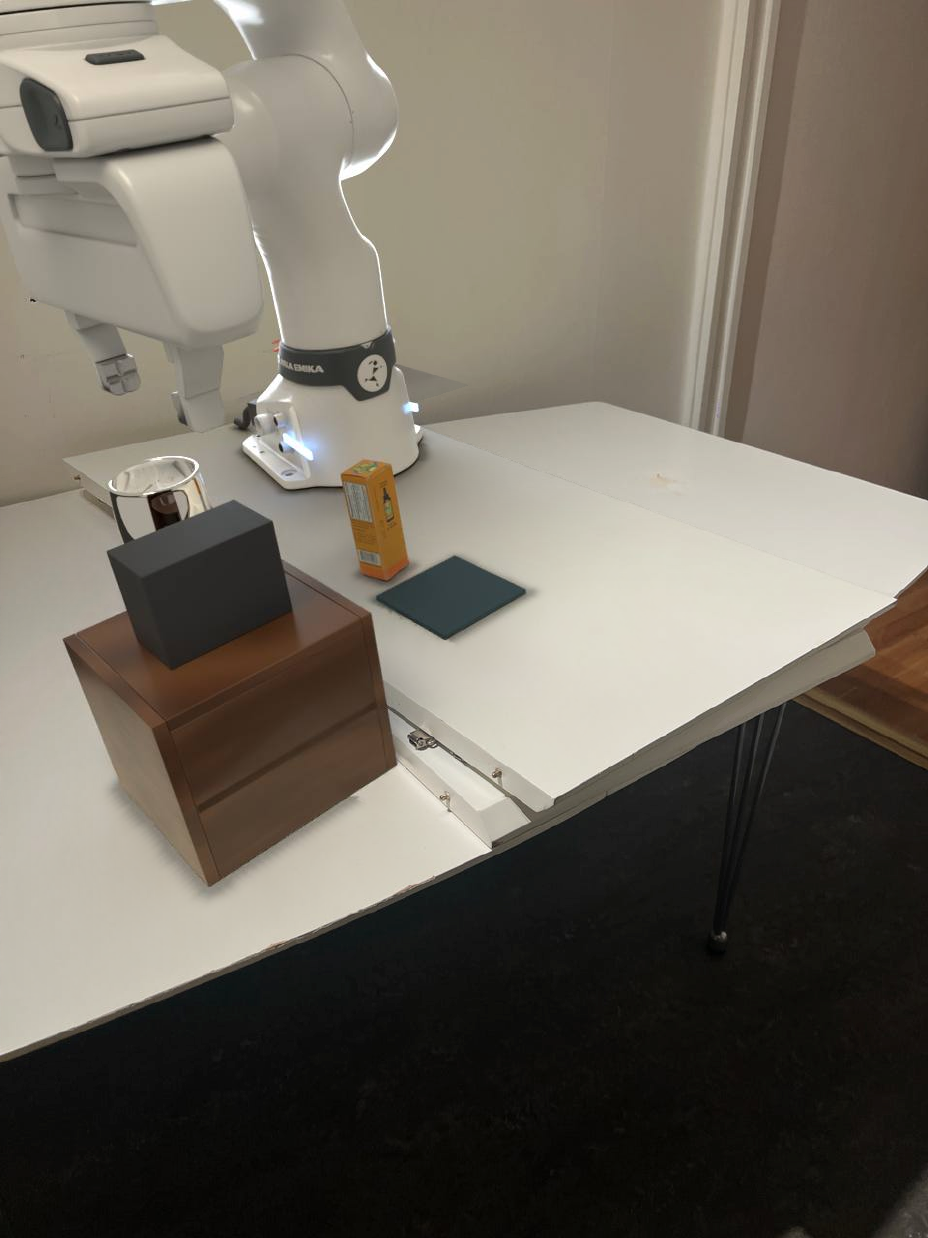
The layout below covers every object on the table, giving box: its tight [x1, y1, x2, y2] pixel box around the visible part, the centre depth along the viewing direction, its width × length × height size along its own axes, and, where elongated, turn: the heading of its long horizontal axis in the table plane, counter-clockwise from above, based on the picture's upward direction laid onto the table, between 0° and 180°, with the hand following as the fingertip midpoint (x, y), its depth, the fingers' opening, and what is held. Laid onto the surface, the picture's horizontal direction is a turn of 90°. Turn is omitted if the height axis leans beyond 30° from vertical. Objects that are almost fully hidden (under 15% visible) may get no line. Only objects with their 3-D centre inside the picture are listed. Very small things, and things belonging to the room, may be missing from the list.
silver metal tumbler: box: [106, 455, 214, 545], centre depth 70 cm, size 7×7×15 cm
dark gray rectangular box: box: [106, 499, 293, 670], centre depth 52 cm, size 4×8×6 cm, turn 132°
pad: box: [375, 555, 527, 640], centre depth 76 cm, size 9×9×1 cm
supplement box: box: [340, 459, 409, 581], centre depth 78 cm, size 3×3×10 cm
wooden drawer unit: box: [62, 558, 398, 887], centre depth 57 cm, size 12×14×12 cm
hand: (160, 407), depth 46 cm, fingers open, 8 cm apart
